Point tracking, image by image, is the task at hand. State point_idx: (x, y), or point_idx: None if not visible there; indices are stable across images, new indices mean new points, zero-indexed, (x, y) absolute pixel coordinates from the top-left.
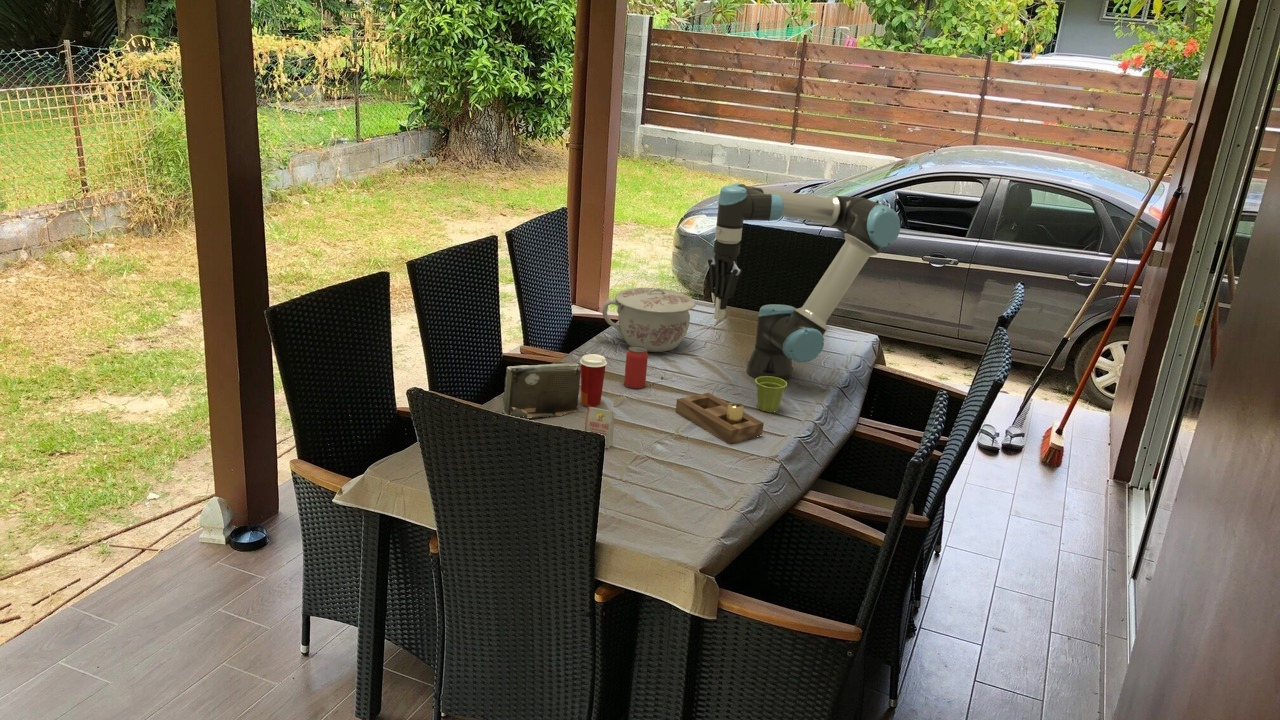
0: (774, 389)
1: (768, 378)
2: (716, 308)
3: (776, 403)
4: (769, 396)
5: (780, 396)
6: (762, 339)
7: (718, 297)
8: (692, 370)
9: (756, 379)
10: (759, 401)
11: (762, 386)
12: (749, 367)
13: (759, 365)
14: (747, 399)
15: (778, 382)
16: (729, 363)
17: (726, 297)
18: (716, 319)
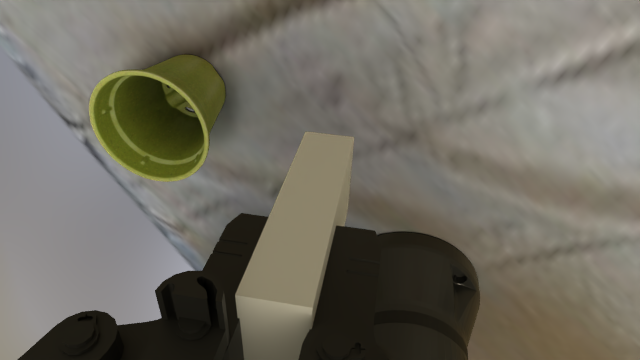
0: (100, 95)
1: (200, 157)
2: (310, 199)
3: (142, 94)
4: (130, 78)
5: (129, 115)
6: (403, 350)
7: (219, 296)
8: (606, 117)
9: (188, 102)
10: (181, 62)
11: (123, 70)
12: (438, 255)
13: (396, 267)
14: (282, 87)
15: (174, 167)
16: (545, 260)
17: (62, 328)
18: (313, 133)
